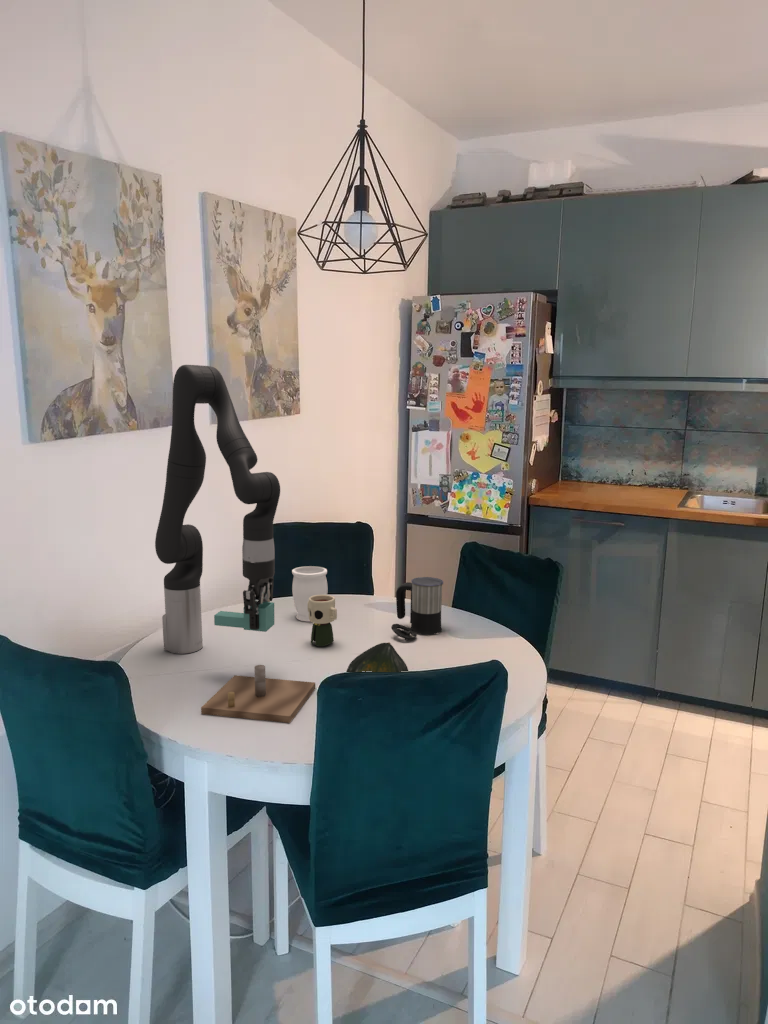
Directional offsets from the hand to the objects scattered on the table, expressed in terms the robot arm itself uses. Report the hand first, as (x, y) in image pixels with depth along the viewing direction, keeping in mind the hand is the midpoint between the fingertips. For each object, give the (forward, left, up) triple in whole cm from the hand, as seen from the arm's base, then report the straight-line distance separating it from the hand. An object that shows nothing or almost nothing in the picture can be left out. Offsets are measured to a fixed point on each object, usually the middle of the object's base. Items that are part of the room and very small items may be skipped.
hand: (259, 624), depth 176 cm
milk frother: (+32, +38, -13) cm, 52 cm away
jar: (-2, +45, -13) cm, 47 cm away
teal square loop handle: (-4, 0, -1) cm, 4 cm away
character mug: (+8, +24, -13) cm, 29 cm away
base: (+5, -14, -13) cm, 20 cm away
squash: (+31, -11, -13) cm, 36 cm away
